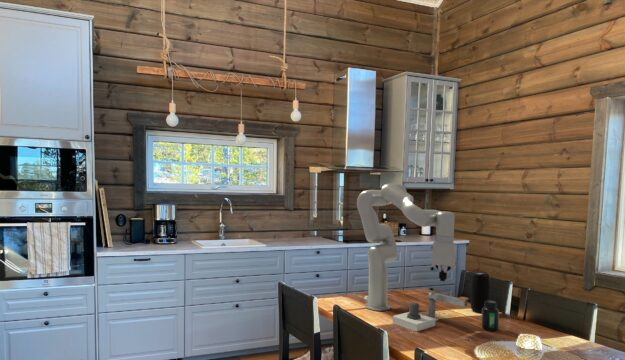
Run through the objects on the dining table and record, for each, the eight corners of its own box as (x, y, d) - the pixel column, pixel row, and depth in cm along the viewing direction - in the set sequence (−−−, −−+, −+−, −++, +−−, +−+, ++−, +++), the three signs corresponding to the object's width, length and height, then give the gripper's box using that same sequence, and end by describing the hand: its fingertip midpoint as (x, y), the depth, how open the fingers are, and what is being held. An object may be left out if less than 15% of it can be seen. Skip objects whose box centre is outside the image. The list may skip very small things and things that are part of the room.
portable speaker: (467, 311, 207) (468, 272, 207) (475, 307, 213) (475, 269, 214) (484, 315, 201) (485, 274, 201) (491, 311, 207) (492, 272, 208)
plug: (404, 323, 182) (405, 303, 182) (412, 321, 185) (413, 301, 185) (414, 327, 177) (415, 306, 177) (422, 324, 181) (423, 304, 181)
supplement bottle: (495, 332, 176) (495, 304, 176) (479, 328, 181) (479, 301, 181) (500, 329, 181) (501, 301, 181) (485, 325, 186) (485, 298, 186)
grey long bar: (465, 307, 176) (465, 299, 176) (426, 298, 189) (426, 290, 190) (468, 305, 179) (469, 298, 179) (430, 296, 192) (430, 289, 192)
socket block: (392, 325, 182) (393, 302, 183) (422, 316, 196) (423, 295, 196) (416, 333, 172) (416, 309, 172) (446, 324, 185) (447, 301, 186)
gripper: (425, 238, 183) (423, 279, 183) (460, 242, 176) (458, 285, 176) (429, 236, 190) (427, 276, 190) (463, 240, 182) (461, 281, 182)
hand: (442, 280), depth 183 cm, fingers closed
